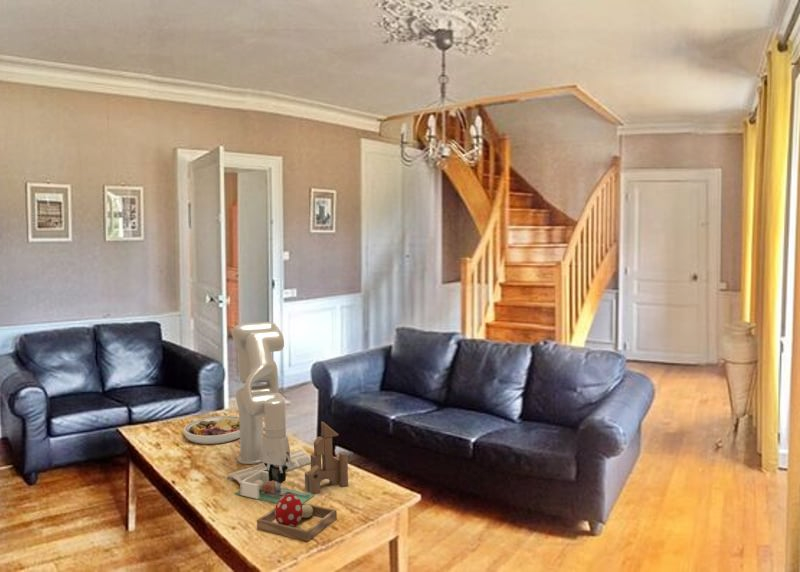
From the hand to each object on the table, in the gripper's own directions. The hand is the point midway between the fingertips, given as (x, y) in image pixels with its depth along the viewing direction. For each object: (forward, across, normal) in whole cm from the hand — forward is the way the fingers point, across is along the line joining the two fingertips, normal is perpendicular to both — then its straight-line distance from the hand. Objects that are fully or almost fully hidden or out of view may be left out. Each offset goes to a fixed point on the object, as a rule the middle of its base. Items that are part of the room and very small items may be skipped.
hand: (277, 480), depth 231 cm
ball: (+3, -9, 0) cm, 9 cm away
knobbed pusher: (+6, 0, 0) cm, 6 cm away
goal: (+6, -8, 0) cm, 10 cm away
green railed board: (+6, -1, 0) cm, 6 cm away
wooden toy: (+6, +13, +14) cm, 20 cm away
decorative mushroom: (+6, +19, -15) cm, 25 cm away
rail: (+6, +4, 0) cm, 7 cm away
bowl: (+6, -68, +43) cm, 81 cm away
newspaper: (+6, -17, +19) cm, 26 cm away
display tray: (+6, +19, -15) cm, 25 cm away
